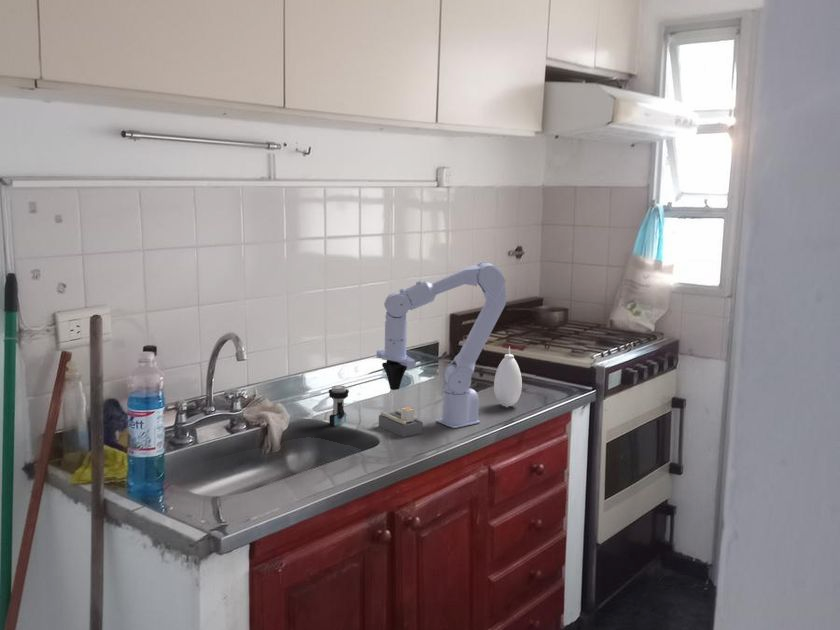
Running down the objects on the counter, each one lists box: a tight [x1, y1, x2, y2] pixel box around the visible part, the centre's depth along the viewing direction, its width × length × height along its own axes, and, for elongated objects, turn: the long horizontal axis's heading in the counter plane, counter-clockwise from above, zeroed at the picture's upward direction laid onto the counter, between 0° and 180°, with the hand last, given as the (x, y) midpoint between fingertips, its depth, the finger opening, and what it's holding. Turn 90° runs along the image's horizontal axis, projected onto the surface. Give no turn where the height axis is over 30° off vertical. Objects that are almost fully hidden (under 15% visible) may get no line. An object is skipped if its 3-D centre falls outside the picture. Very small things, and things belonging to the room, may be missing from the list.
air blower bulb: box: [493, 345, 523, 407], centre depth 235 cm, size 8×8×18 cm
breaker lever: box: [401, 406, 415, 422], centre depth 209 cm, size 2×2×3 cm
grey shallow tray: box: [378, 408, 424, 438], centre depth 212 cm, size 6×11×4 cm, turn 38°
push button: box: [328, 385, 350, 427], centre depth 216 cm, size 7×5×10 cm
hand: (394, 389), depth 216 cm, fingers closed
